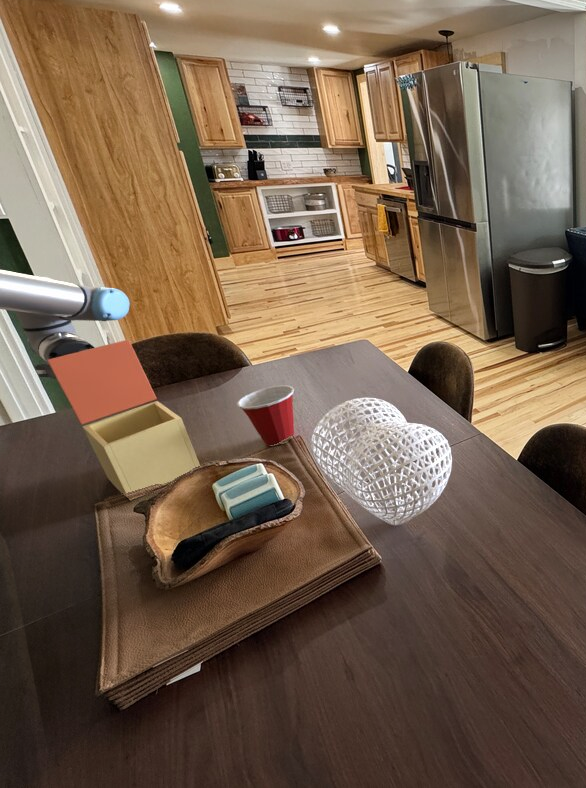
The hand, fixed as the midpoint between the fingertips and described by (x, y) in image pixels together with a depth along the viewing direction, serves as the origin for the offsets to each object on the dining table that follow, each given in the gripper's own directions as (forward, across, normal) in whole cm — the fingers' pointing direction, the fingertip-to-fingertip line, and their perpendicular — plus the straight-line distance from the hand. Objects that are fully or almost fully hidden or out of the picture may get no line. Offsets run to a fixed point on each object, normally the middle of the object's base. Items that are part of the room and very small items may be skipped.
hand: (104, 379), depth 95 cm
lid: (+1, 0, 0) cm, 1 cm away
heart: (+62, +18, +20) cm, 68 cm away
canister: (+9, 0, +20) cm, 22 cm away
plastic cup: (+17, +20, +20) cm, 33 cm away
